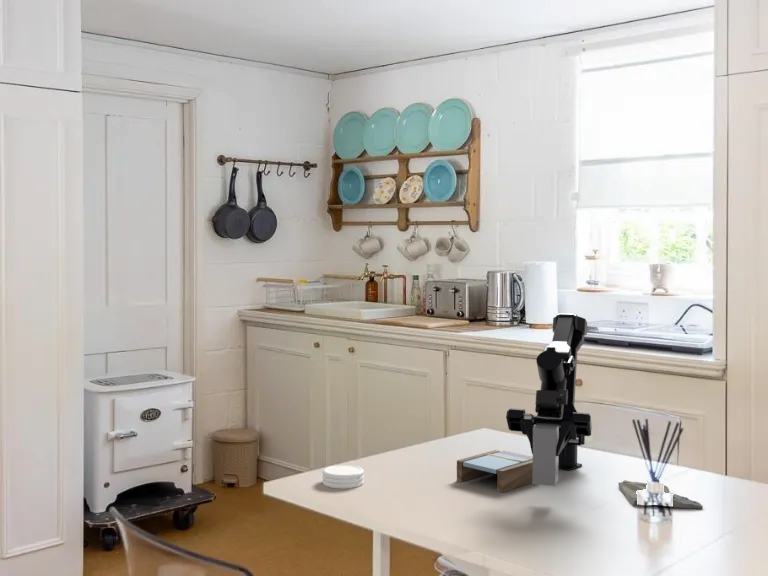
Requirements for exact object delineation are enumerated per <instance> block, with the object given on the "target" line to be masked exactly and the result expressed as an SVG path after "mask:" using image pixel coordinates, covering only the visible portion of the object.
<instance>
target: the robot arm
mask: <svg viewBox="0 0 768 576" xmlns="http://www.w3.org/2000/svg"><path fill="white" fill-rule="evenodd" d="M552 332H553V333H552V334H553V336H552V340H551V343H550V344H548V345H546V346H545V347H544V349H543V351H542V352H540V353H539V354H538V355H537V357H536V360H535V361H536V366H537V372H538V376H539V377H538V378H539V380H540V383H541V384H540V389H538V390H536V393H535V407H534V408H535V411H534V412H535V413H537V414H536V415H533V413H526V409H525V408H515V407H514V408H513V407H511V408H509V409H508V410H507V411H506V416H505V418H506V423H507V428H508V430H509V431H511V432H521V434H522V435H525V436H526V437H527V439H528V442H529V446H530V450H531V451H530V452H531V455H533V428H534V426H535V425H536V424H550V425H559V439H558V444H557V449H556V456H559V457H558V469H560V470H561V469H562V470H566V471H571V470H574V469H578V468H580V467H583V463H579V462H578V446H579V447H581V446H583V445H585V444H586V442H585V438H586V437H590V436H592V431H593V425H592V416H591V414H590V413H588V412H578V411H577V409H576V407H575V402H576V401H575V400H576V398H575V397H576V384H577V383H576V382H577V367H578V366H577V365H578V363H577V362H578V351H579V350H580V349H581V348H582V346H583V345H584V343H585V336H587V334H588V321H587V320H586V318H584V317H581V316H579V315H577V314H575V313H571V312H570V313H568V312H567V313H566V312H559V313H556V316H554V317H553V318H552Z"/></svg>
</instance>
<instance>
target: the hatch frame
mask: <svg viewBox="0 0 768 576" xmlns="http://www.w3.org/2000/svg"><path fill="white" fill-rule="evenodd" d="M497 452H501V450H497V449H494V450H490V451H486V452H482V453H479V454H475V455H472V456H468V457H465V458H461V459H457V460H456V481H457V482H459V483H460V482H461V483H463V482H466V481H469V480H472V479H476V478H479V477H482V476H485V475H489V474H491V473H490V472H486V471H482V470H478V469H474V468H469V467H465V466H463V462H465V461H468V460H472V459H476V458H479V457H483V456H486V455H488V454H494V453H497ZM496 475H497V483H496V484H497V489H496V490H497V492H499V493H504V492H508V491H511V490H513V489H517V488H520V487H523V486H526V485H529V484H532V478H533V460H530V461H526V462H523V463H520V464H516V465H513V466H509V467H506V468H503V469H499V470H498V472H497V474H496Z"/></svg>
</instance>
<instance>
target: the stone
mask: <svg viewBox="0 0 768 576" xmlns="http://www.w3.org/2000/svg"><path fill="white" fill-rule="evenodd" d="M558 439H559V425H550V424H536V425H534V428H533V454H532V457H533V478H532V483H531V484H532V485H538V486H540V485H541V486H550V487H556V486H557V484H558V482H559V468H558V457H559V456H556V449H557V444H558Z"/></svg>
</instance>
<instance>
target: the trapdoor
mask: <svg viewBox="0 0 768 576" xmlns="http://www.w3.org/2000/svg"><path fill="white" fill-rule="evenodd" d="M530 460H533V456H530V455H528V454H527V455H525V454H521V453H517V452H513V451H512V452H511V451H506V450H500V452H497V453H494V454H488V455H486V456H483V457H479V458H476V459H472V460H468V461H465V462H463V466H465V467H469V468H474V469H478V470H482V471H486V472H490V474H495V475H497V472H498V470H499V469H503V468H506V467H509V466H513V465H516V464H520V463H523V462H526V461H530Z"/></svg>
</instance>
